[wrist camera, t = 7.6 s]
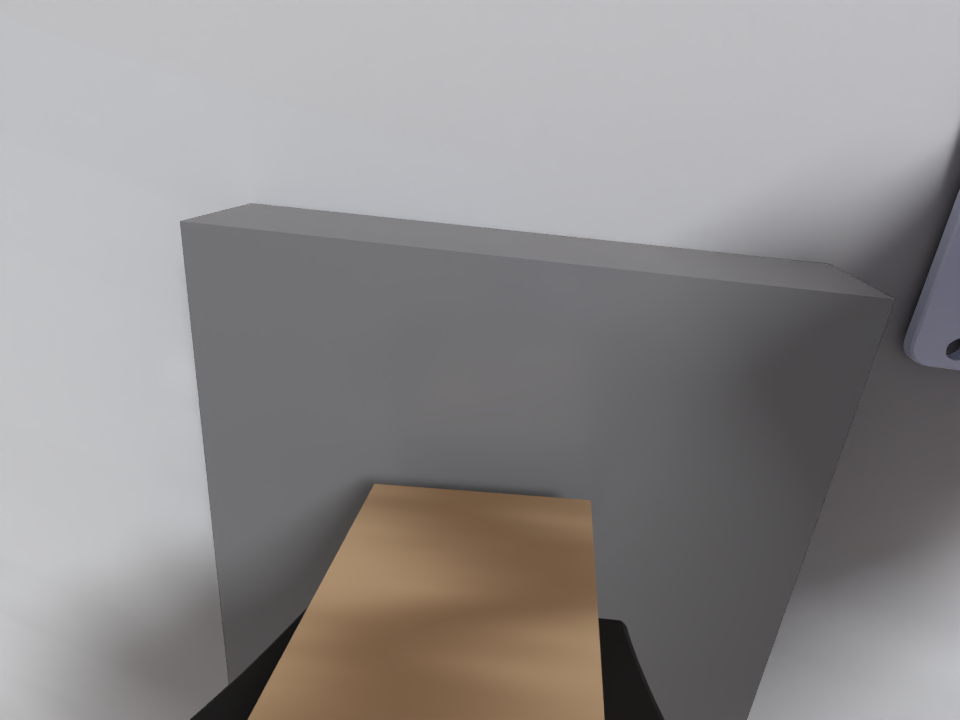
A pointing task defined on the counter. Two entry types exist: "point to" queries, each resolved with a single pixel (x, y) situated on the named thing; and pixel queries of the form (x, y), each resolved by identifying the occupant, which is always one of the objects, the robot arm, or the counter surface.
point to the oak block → (449, 614)
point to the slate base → (527, 414)
